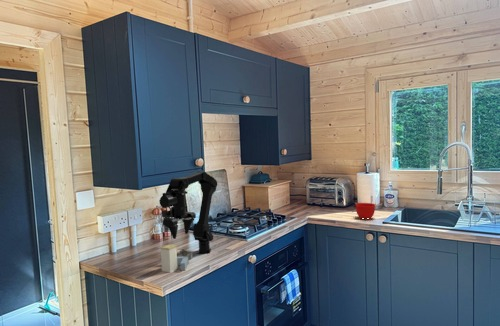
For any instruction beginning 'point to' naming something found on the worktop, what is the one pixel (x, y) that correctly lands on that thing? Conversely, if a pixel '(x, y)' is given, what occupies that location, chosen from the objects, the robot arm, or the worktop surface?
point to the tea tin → (169, 257)
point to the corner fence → (183, 262)
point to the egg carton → (184, 254)
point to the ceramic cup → (365, 210)
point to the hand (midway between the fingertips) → (180, 236)
